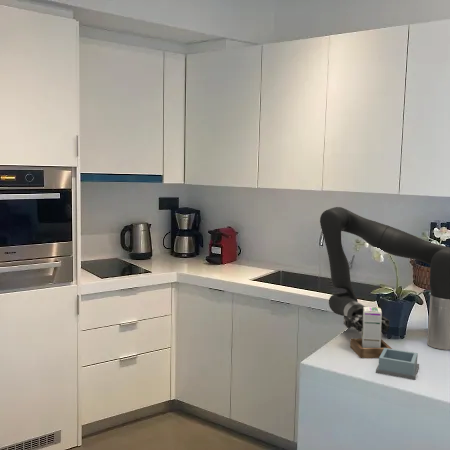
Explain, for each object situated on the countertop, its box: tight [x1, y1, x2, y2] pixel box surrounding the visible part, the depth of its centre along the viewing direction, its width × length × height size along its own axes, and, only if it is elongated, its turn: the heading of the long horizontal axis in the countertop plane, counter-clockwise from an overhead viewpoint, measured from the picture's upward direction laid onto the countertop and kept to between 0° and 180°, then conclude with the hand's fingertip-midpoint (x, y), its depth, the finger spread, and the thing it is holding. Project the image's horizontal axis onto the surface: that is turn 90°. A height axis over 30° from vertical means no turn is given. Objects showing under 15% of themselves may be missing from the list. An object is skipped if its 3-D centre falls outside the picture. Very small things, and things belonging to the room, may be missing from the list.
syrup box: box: [361, 306, 383, 348], centre depth 178 cm, size 6×6×14 cm
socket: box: [375, 348, 420, 381], centre depth 164 cm, size 11×11×4 cm
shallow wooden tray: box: [349, 337, 393, 359], centre depth 179 cm, size 10×10×3 cm
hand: (373, 328), depth 176 cm, fingers open, 8 cm apart
